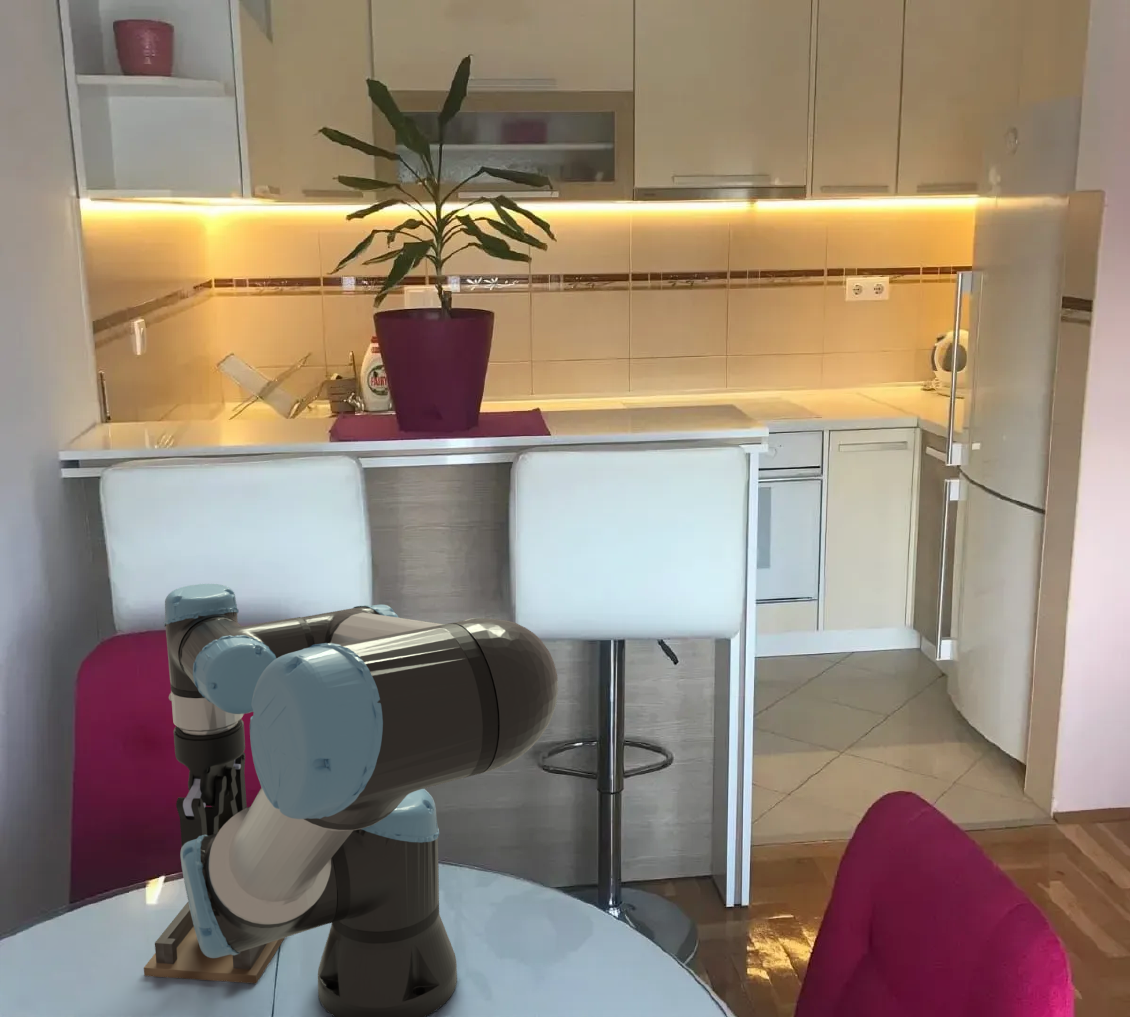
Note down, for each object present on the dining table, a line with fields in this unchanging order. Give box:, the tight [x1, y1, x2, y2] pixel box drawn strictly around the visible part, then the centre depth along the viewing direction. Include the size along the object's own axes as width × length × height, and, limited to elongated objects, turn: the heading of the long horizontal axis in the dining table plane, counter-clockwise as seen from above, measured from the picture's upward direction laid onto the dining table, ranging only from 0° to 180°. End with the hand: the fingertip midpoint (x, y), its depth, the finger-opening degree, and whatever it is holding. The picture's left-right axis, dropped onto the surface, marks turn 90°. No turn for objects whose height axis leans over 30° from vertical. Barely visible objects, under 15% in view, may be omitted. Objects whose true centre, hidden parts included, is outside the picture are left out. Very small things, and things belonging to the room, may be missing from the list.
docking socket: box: [143, 901, 285, 984], centre depth 131 cm, size 13×13×4 cm
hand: (221, 911), depth 130 cm, fingers open, 5 cm apart
